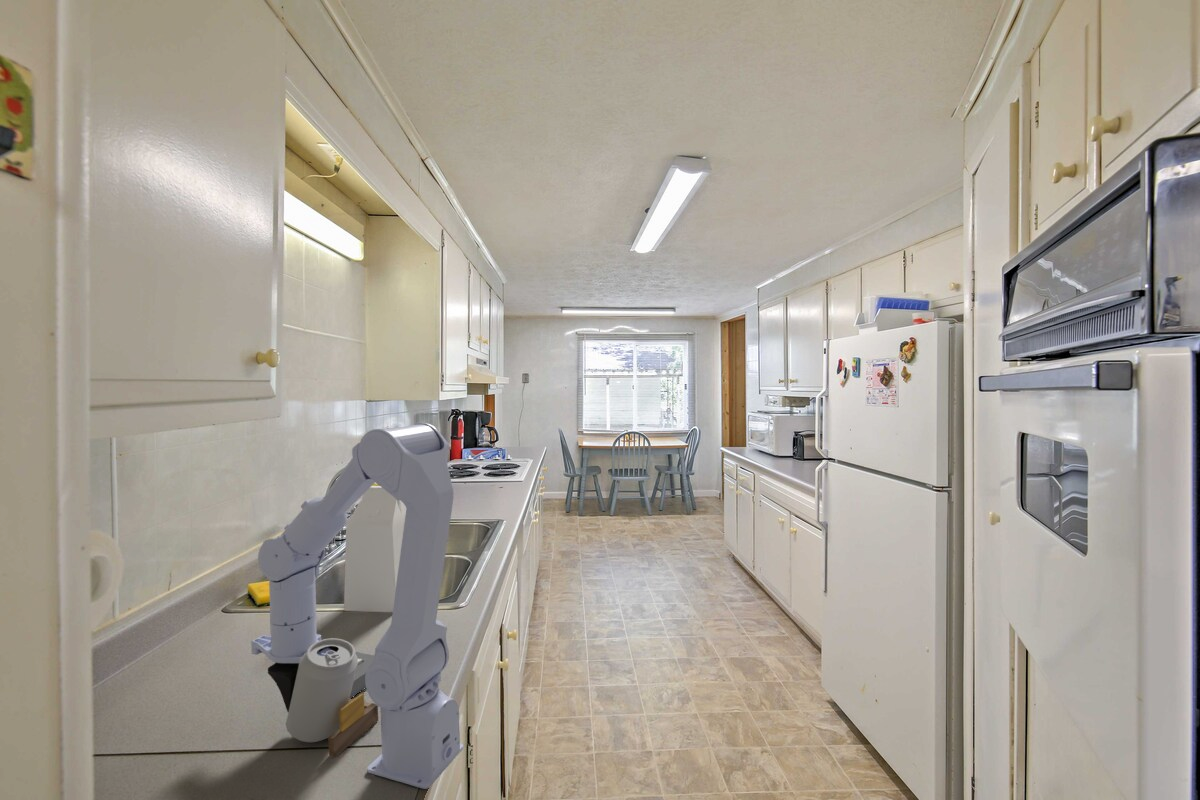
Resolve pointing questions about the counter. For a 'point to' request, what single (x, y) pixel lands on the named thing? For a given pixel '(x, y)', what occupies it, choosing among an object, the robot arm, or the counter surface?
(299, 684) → the can
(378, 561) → the milk
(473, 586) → the counter surface
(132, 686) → the counter surface
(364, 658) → the panel
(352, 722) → the lockout bracket
